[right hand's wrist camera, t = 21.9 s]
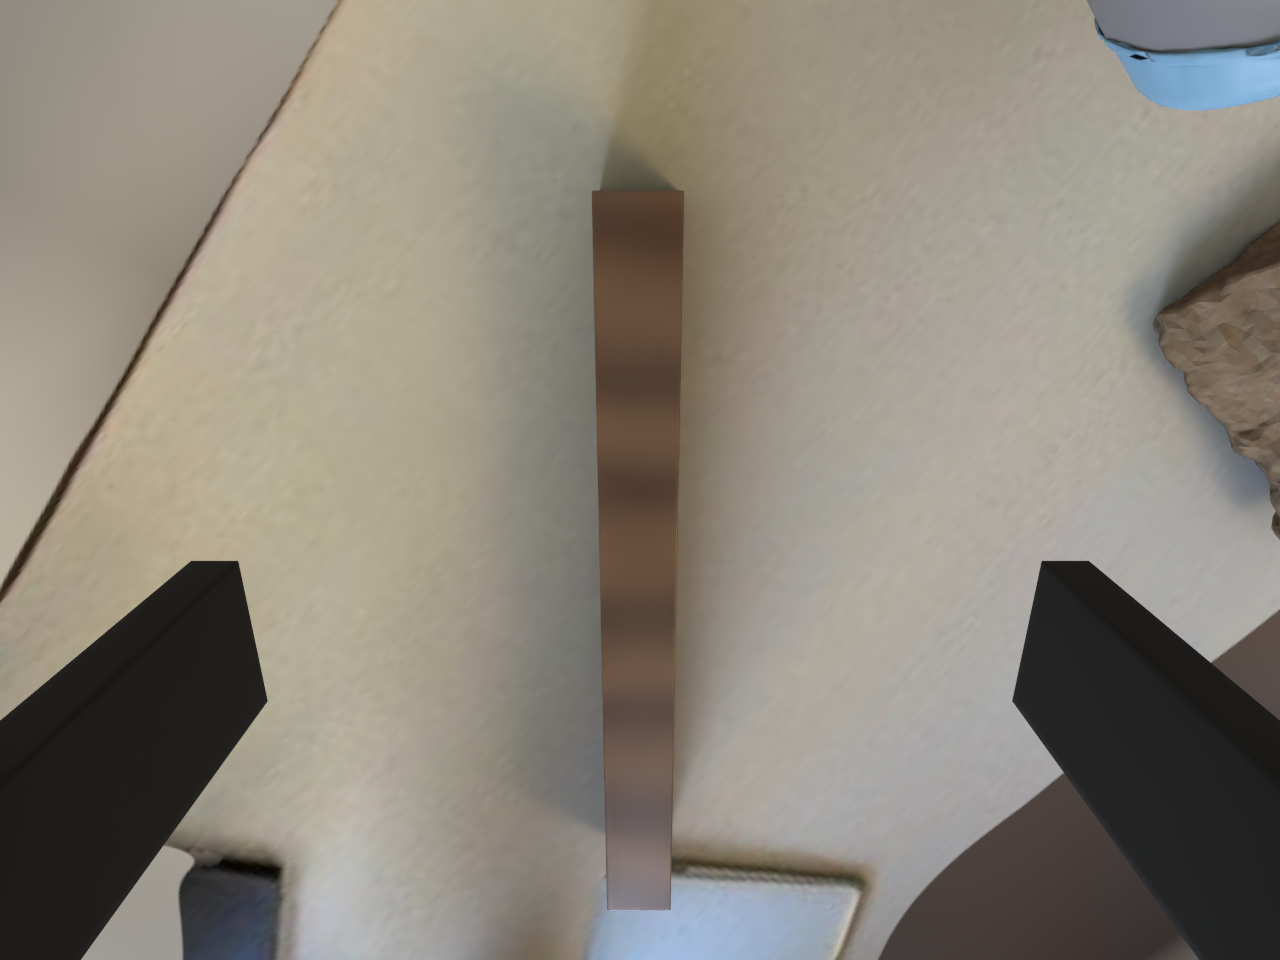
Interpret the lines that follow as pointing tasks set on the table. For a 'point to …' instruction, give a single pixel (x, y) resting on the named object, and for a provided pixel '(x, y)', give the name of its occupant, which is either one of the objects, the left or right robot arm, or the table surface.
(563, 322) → the table surface
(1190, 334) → the stone
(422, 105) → the table surface
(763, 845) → the table surface
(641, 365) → the beam
